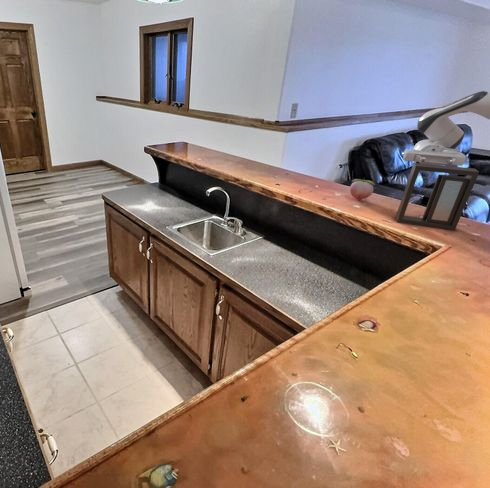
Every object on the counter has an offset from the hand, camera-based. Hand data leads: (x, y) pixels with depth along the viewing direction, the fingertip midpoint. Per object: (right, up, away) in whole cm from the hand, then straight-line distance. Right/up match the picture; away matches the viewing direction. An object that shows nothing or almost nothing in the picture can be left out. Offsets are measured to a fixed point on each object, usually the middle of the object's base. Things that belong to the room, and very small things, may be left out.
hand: (437, 161), depth 135 cm
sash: (-4, -22, -3) cm, 23 cm away
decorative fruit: (-19, -12, +20) cm, 31 cm away
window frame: (-8, -25, -4) cm, 26 cm away
